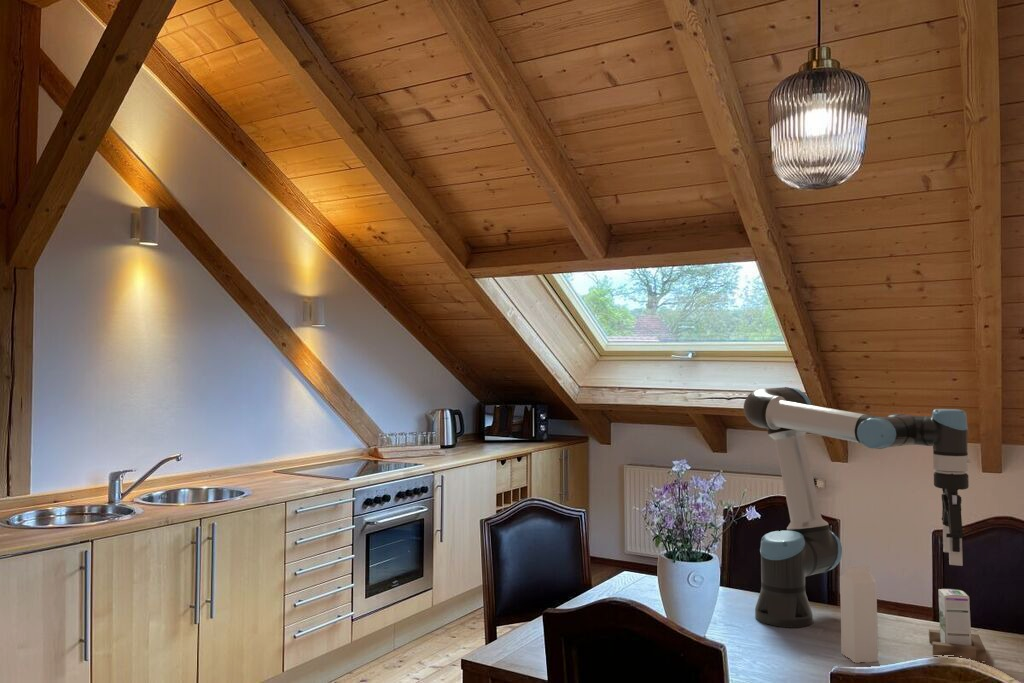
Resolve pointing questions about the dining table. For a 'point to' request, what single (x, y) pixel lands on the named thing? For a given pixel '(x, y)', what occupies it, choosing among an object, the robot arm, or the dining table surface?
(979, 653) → the brown square tray
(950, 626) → the syrup box
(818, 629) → the dining table surface
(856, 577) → the milk
